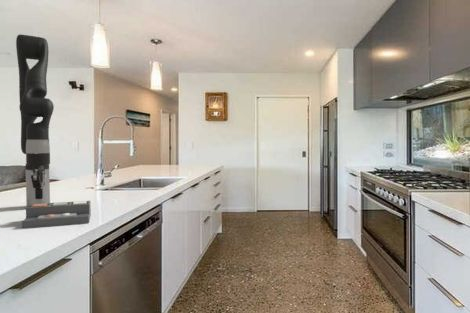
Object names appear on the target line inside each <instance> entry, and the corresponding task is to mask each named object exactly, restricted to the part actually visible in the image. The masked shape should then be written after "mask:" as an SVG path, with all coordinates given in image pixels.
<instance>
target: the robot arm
mask: <svg viewBox="0 0 470 313" xmlns="http://www.w3.org/2000/svg"><path fill="white" fill-rule="evenodd" d="M15 46H16V49H15V50H16V56H17V58H16V59H17V65H18V75H19V76H18V80H19V81H18V83H19V85H18V86H19V87H18V88H19V89H18V91H19V96H18V97H19V112H20V119H21V120H20V123H21V124H20V129H21V130H20V149H21V151H22V154H24V155H25V162H26V163H25V165H24V166H25V190H26V191H25V199H26V202H25V203H26V208H27V207H28V206H29V205H30V204H41V203H51V193H50V192H51V189H50V188H51V184H50V180H51V179H50V164H51V149H50V148H51V145H50V135H49V134H50V133H49V132H50V131H49V130H50V129H49V128H50V122H51V119H52V115H53V112H54V107H55V104H54V103H53V101H52V100H51V99H50V98H46V96H47V94H48V88H47V86H48V85H47V73H48V66H49V64H48V63H49V44H48V41H47V39H46V38H44V37H40V36H34V35H29V34H28V35H27V34H18V35H17V36H16V41H15ZM28 60H36V61H37V62H36V63H35V64H34V65H33V66H32V67H31V68H30V67H29V65H28V62H27V61H28ZM37 118H42V120H40V121H38V122H35V121H36V120H37Z"/></svg>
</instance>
